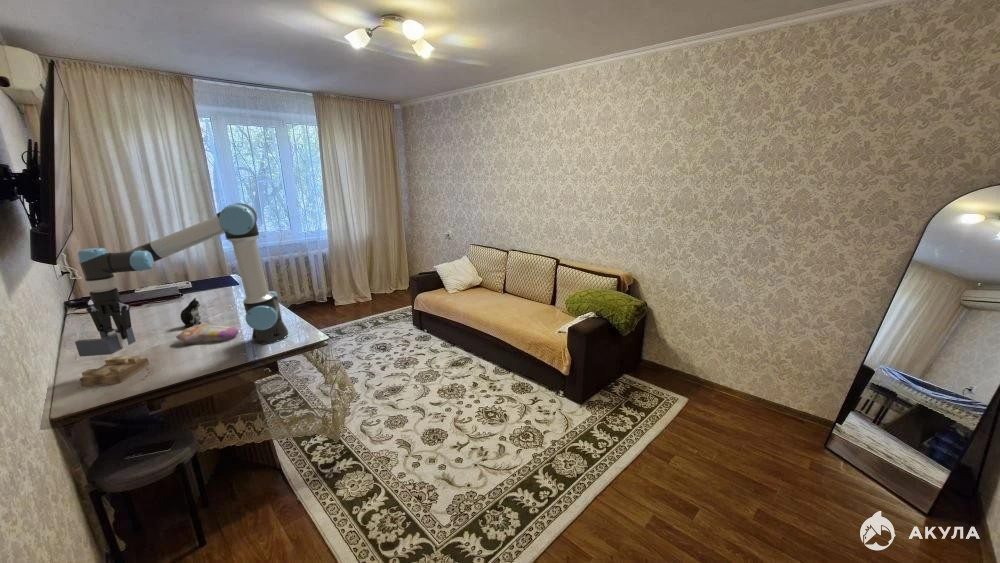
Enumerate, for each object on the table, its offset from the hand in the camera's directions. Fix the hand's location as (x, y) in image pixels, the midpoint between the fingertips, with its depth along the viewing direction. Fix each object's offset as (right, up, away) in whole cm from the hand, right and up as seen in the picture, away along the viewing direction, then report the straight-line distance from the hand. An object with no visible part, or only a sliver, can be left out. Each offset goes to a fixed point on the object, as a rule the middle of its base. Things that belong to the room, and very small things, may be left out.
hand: (120, 346), depth 148 cm
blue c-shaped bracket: (-4, -1, -1) cm, 4 cm away
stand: (-4, -12, +3) cm, 12 cm away
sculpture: (+7, -2, +37) cm, 38 cm away
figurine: (-13, +2, +52) cm, 53 cm away
